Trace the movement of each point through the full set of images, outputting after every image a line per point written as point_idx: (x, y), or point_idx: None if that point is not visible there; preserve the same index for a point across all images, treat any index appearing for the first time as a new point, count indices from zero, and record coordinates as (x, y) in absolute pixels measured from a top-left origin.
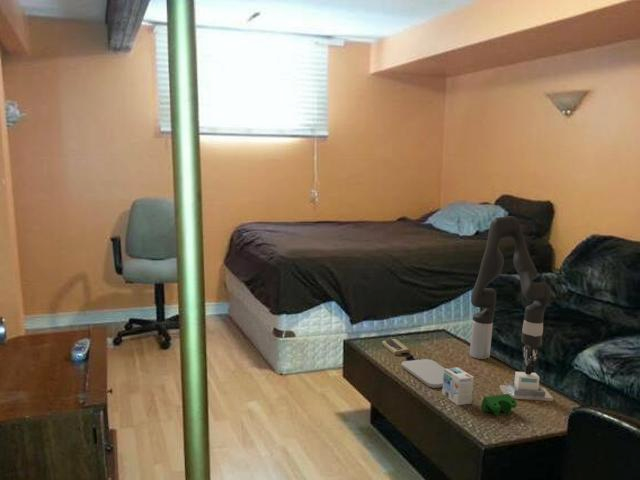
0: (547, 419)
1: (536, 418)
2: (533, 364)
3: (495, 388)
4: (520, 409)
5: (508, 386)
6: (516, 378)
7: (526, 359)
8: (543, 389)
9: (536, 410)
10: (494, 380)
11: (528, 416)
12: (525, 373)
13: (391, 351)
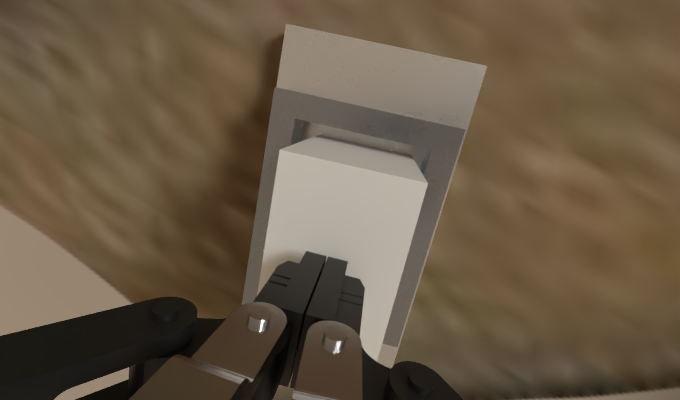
0: (18, 147)
1: (17, 86)
2: (130, 384)
3: (471, 22)
4: (121, 44)
5: (440, 123)
6: (368, 160)
7: (171, 358)
8: None
9: (120, 147)
10: (633, 95)
11: (34, 47)
12: (362, 270)
13: None
